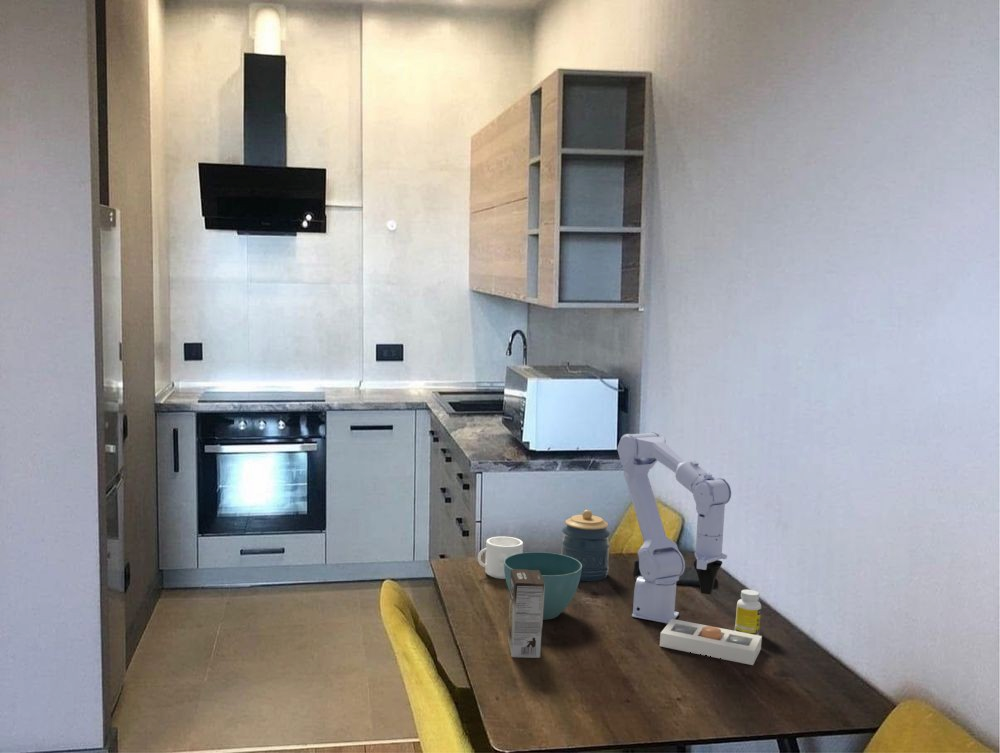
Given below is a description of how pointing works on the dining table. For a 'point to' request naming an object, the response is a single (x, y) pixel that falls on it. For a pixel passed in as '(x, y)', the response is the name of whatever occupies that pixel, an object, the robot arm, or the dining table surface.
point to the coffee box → (526, 613)
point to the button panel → (711, 642)
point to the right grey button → (739, 640)
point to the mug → (499, 554)
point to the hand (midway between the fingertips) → (706, 593)
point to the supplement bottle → (748, 612)
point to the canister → (587, 544)
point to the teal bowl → (549, 577)
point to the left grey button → (684, 630)
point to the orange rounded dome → (711, 632)
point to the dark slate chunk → (686, 578)
